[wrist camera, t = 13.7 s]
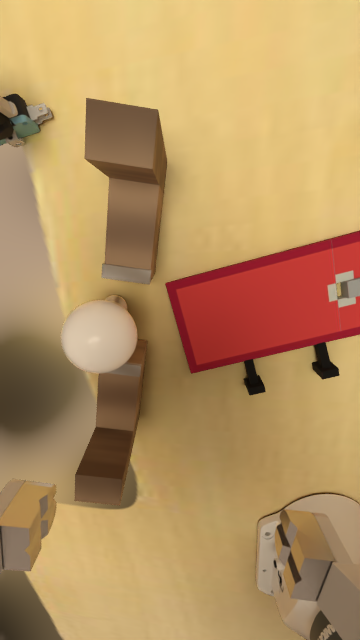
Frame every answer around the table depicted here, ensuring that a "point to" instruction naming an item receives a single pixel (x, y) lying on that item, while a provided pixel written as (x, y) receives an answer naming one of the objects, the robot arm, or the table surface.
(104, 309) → the lightbulb
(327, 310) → the red board with handle
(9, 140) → the push button
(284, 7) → the table surface
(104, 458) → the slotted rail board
